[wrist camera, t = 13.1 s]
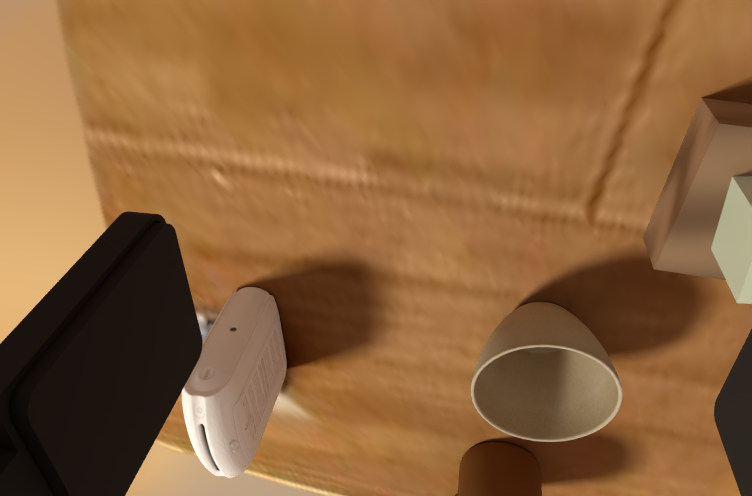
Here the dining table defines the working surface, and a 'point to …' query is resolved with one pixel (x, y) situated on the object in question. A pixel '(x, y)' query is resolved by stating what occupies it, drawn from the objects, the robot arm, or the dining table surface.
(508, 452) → the mug
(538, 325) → the flower pot
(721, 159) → the brown flat block
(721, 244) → the sage cube
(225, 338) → the photo printer
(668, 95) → the dining table surface
